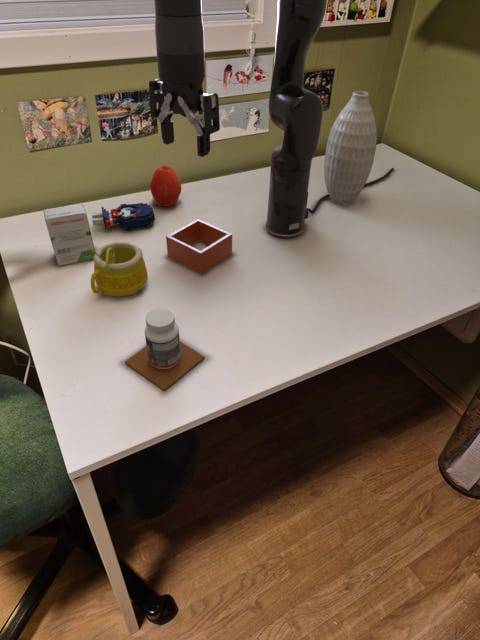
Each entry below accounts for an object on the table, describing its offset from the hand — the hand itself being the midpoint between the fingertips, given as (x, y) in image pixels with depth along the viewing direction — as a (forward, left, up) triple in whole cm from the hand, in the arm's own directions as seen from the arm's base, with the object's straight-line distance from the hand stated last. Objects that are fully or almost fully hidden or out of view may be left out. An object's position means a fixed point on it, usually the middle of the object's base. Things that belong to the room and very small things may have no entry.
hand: (185, 149), depth 84 cm
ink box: (+12, -25, -28) cm, 40 cm away
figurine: (-5, -28, -28) cm, 40 cm away
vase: (-54, +7, -28) cm, 61 cm away
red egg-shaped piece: (-20, -28, -28) cm, 45 cm away
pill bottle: (+22, +14, -28) cm, 38 cm away
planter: (-7, -4, -28) cm, 29 cm away
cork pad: (+22, +14, -28) cm, 38 cm away
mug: (+13, -9, -28) cm, 32 cm away
